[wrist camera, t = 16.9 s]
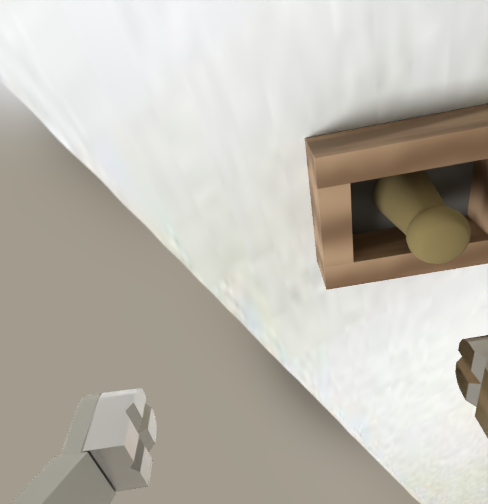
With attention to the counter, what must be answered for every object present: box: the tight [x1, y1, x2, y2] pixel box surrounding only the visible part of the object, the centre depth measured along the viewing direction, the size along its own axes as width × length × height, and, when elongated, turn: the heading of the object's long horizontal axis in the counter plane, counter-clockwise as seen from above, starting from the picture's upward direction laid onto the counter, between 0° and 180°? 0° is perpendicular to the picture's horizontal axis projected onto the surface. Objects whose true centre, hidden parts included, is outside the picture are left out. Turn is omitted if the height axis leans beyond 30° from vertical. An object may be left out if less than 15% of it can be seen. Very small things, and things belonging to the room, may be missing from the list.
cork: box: [372, 170, 471, 264], centre depth 40 cm, size 6×6×11 cm
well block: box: [305, 104, 488, 289], centre depth 42 cm, size 15×20×6 cm
